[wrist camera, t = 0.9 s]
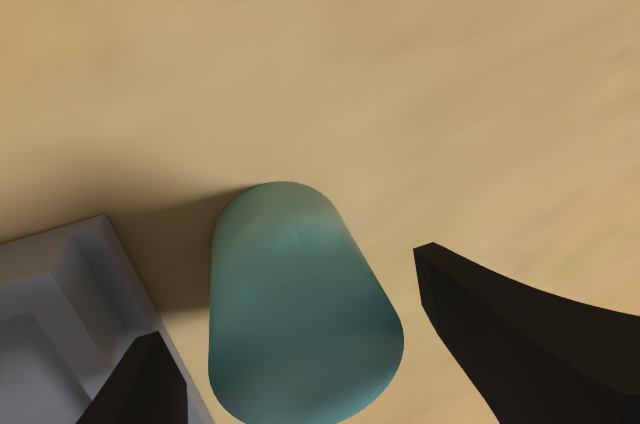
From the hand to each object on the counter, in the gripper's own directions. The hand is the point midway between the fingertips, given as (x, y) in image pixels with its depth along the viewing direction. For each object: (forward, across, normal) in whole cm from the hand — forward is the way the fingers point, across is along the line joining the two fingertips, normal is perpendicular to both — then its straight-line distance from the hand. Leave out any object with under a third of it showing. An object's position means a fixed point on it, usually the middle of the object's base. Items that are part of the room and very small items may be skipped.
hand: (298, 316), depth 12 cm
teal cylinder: (+4, 0, 0) cm, 4 cm away
